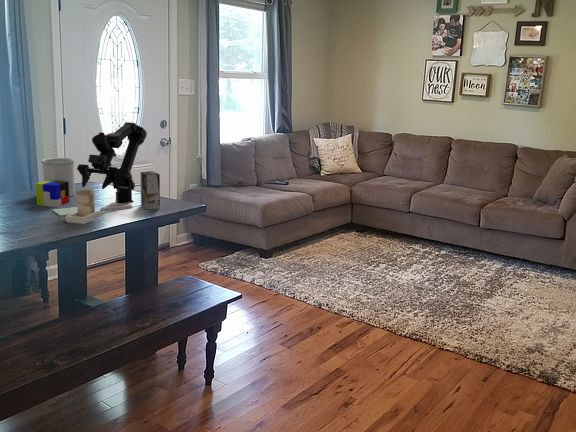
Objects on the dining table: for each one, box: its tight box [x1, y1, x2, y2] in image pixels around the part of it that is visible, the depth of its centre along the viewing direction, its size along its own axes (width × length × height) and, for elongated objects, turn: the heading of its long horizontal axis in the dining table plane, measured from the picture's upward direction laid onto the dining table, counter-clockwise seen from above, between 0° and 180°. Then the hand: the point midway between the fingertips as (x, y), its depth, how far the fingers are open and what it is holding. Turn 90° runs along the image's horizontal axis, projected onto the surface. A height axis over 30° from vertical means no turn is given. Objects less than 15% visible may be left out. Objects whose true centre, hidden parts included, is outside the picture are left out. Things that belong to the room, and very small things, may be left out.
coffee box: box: [140, 170, 161, 210], centre depth 273 cm, size 9×6×16 cm
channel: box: [64, 210, 102, 225], centre depth 249 cm, size 13×8×2 cm, turn 168°
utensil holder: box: [40, 157, 76, 198], centre depth 289 cm, size 15×15×18 cm
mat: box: [51, 206, 77, 217], centre depth 260 cm, size 11×11×1 cm
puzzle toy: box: [35, 180, 70, 208], centre depth 272 cm, size 10×10×10 cm
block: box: [76, 188, 96, 217], centre depth 250 cm, size 5×5×12 cm
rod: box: [100, 204, 133, 212], centre depth 268 cm, size 14×2×2 cm, turn 127°
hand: (92, 187), depth 254 cm, fingers open, 9 cm apart
